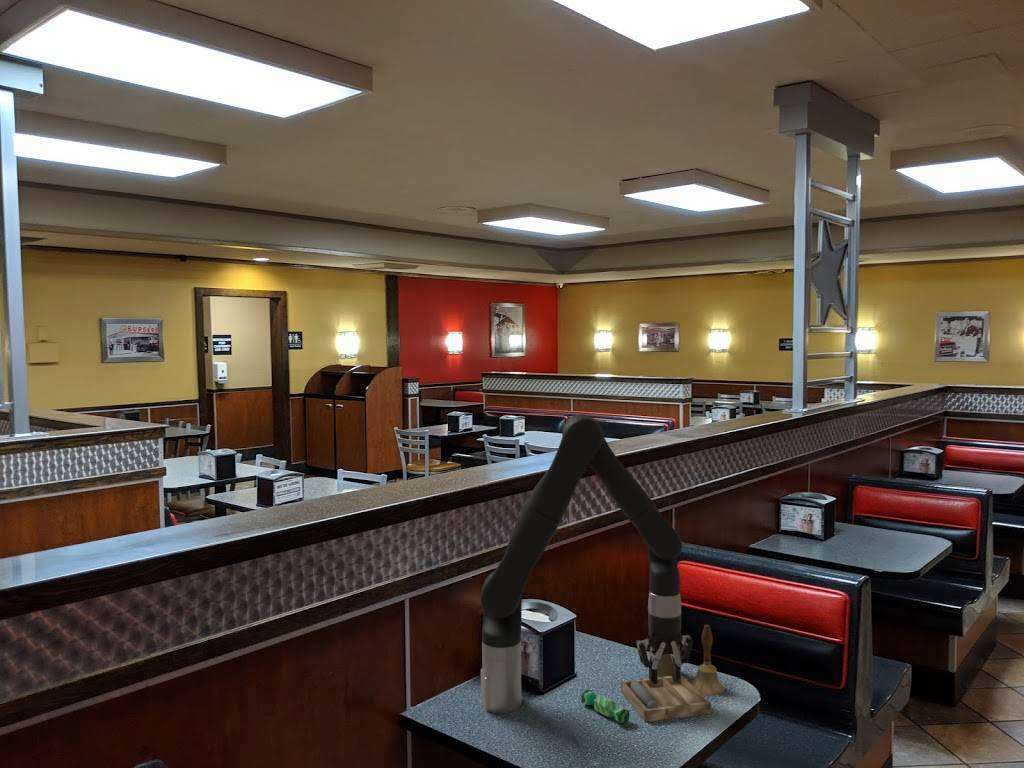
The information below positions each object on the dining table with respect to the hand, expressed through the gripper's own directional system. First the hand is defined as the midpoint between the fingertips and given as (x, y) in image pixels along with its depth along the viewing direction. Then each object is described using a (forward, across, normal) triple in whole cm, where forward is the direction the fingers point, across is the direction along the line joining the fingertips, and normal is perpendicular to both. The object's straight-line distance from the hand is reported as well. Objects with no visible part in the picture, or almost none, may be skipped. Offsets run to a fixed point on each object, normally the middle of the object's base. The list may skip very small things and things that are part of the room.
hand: (664, 681), depth 175 cm
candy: (+6, -16, -2) cm, 17 cm away
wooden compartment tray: (+5, 0, 0) cm, 5 cm away
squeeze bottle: (+5, +6, +13) cm, 15 cm away
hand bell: (+5, +13, +4) cm, 15 cm away
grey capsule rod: (+4, -5, 0) cm, 7 cm away
